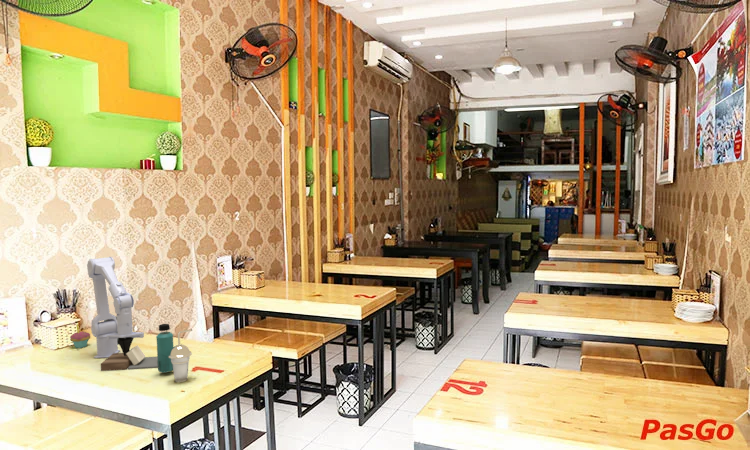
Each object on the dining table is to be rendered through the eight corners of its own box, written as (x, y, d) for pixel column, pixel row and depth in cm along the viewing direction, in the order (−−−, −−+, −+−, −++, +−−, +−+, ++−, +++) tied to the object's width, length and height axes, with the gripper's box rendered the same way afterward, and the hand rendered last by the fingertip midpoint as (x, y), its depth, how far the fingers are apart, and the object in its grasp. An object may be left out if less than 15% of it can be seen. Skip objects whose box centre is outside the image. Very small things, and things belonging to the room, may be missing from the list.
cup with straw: (182, 374, 208) (180, 325, 207) (198, 378, 204) (196, 327, 202) (164, 381, 201) (162, 330, 200) (180, 385, 196) (178, 333, 195)
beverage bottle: (178, 371, 212) (176, 322, 211) (167, 377, 206) (165, 327, 205) (165, 370, 215) (163, 321, 213) (153, 375, 208) (151, 325, 207)
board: (113, 360, 229) (113, 353, 229) (137, 358, 230) (137, 352, 230) (100, 370, 215) (100, 363, 215) (126, 369, 216) (126, 362, 216)
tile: (132, 348, 227) (137, 344, 227) (140, 359, 227) (145, 356, 227) (126, 353, 219) (131, 350, 219) (134, 365, 219) (139, 362, 219)
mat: (138, 358, 230) (138, 357, 230) (167, 357, 232) (167, 355, 231) (127, 369, 216) (127, 368, 216) (158, 367, 218) (158, 366, 218)
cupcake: (84, 349, 247) (83, 323, 246) (66, 349, 247) (65, 324, 246) (94, 343, 255) (93, 319, 254) (77, 344, 255) (75, 319, 254)
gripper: (102, 326, 217) (104, 358, 218) (139, 324, 219) (141, 356, 219) (109, 322, 224) (111, 353, 225) (144, 320, 226) (146, 351, 226)
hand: (126, 355), depth 223 cm, fingers closed
